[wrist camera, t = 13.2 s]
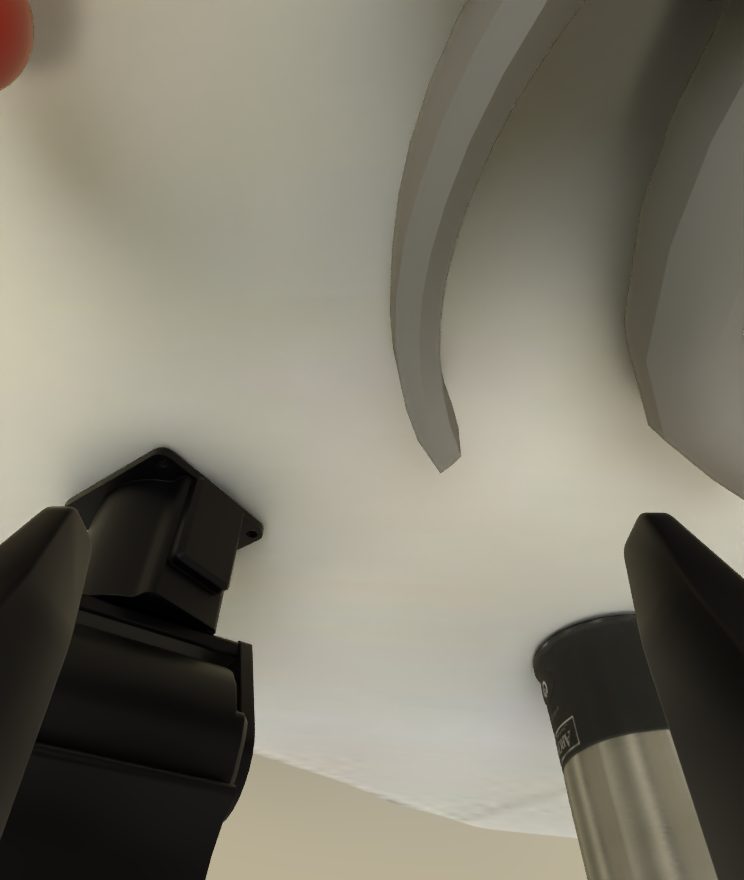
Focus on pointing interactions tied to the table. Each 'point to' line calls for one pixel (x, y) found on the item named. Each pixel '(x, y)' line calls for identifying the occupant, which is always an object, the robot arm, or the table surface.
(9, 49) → the tap lever
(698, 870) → the milk frother
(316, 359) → the table surface
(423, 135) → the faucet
